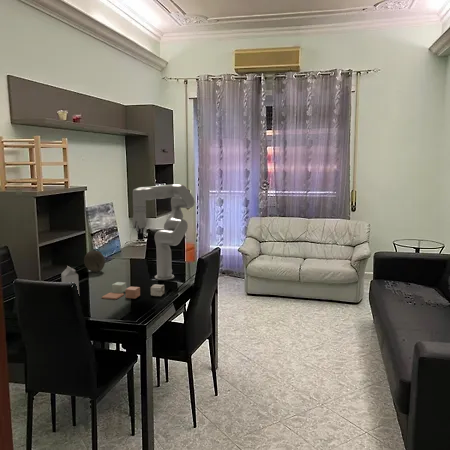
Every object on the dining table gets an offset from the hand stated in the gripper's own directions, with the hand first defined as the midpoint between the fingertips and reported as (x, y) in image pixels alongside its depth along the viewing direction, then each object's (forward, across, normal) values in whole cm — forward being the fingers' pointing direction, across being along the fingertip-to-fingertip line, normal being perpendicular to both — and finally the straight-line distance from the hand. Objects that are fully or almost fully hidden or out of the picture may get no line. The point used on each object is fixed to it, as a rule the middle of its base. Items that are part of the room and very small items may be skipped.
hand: (140, 239), depth 274 cm
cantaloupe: (+29, -26, -47) cm, 61 cm away
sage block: (+29, +14, -8) cm, 33 cm away
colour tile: (+29, +24, -7) cm, 38 cm away
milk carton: (+29, +36, -26) cm, 53 cm away
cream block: (+29, +14, +16) cm, 36 cm away
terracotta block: (+29, +21, +4) cm, 36 cm away
